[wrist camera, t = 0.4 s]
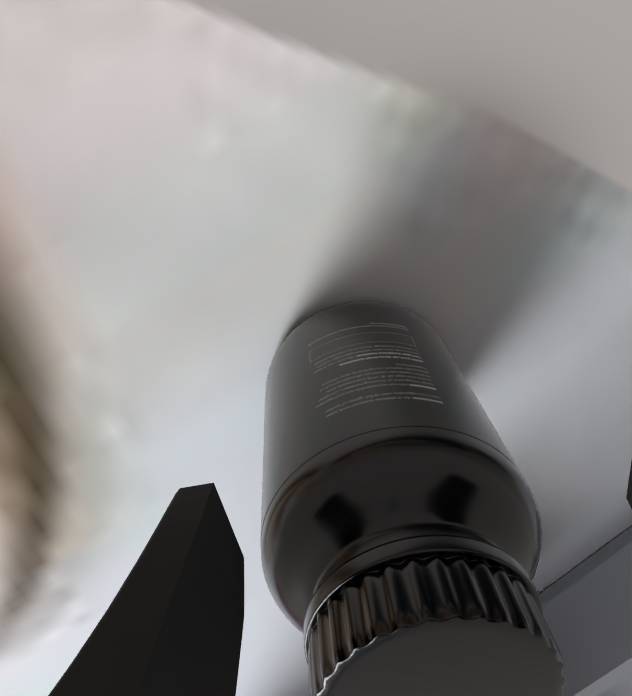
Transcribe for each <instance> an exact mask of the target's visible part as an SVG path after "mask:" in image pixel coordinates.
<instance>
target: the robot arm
mask: <svg viewBox="0 0 632 696" xmlns="http://www.w3.org/2000/svg"><path fill="white" fill-rule="evenodd" d="M626 498H627V500H628V502H629V504H630V506H631V509H632V462H631V469H630V476H629V483H628V490H627V496H626ZM243 621H244V557H243V554H242V552H241V549H240V547H239V544H238V542H237V539H236V537H235V534H234V532H233V529H232V527H231V524H230V522H229V520H228V517H227V515H226V512H225V510H224V507H223V505H222V502H221V500H220V497H219V495H218V492H217V490H216V487H215V485H214V483H209V484H203V485H197V486H191V487H185V488H180V489H179V490H178V492H177V493H176V494H175V496H174V498H173V499H172V501H171V503H170V505H169V506H168V508H167V510H166V512H165V514H164V515H163V517H162V519H161V521H160V522H159V524H158V526H157V528H156V529H155V531H154V533H153V535H152V536H151V538H150V540H149V542H148V543H147V545H146V547H145V549H144V550H143V552H142V554H141V555H140V557H139V559H138V561H137V562H136V564H135V566H134V567H133V569H132V570H131V572H130V574H129V575H128V577H127V579H126V580H125V582H124V584H123V585H122V587H121V588H120V590H119V592H118V593H117V595H116V597H115V598H114V600H113V601H112V603H111V605H110V606H109V608H108V609H107V611H106V613H105V614H104V616H103V617H102V619H101V620H100V622H99V623H98V625H97V626H96V628H95V629H94V631H93V632H92V634H91V635H90V637H89V638H88V640H87V641H86V643H85V644H84V645H83V647H82V648H81V650H80V651H79V653H78V654H77V656H76V657H75V659H74V660H73V662H72V663H71V665H70V666H69V668H68V669H67V670H66V672H65V673H64V675H63V676H62V677H61V679H60V680H59V682H58V683H57V684H56V686H55V687H54V689H53V690H52V691H51V693H50V694H49V695H48V696H235V694H236V686H237V677H238V668H239V659H240V650H241V640H242V631H243Z"/></svg>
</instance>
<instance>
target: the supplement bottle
mask: <svg viewBox="0 0 632 696" xmlns="http://www.w3.org/2000/svg"><path fill="white" fill-rule="evenodd" d="M541 535H542V534H541V520H540V516H539V511H538V507H537V504H536V501H535V499H534V496H533V494H532V492H531V490H530V488H529V486H528V484H527V482H526V481H525V479H524V477H523V475H522V474H521V472H520V470H519V468H518V467H517V465H516V463H515V462H514V460H513V458H512V457H511V455H510V453H509V451H508V450H507V448H506V446H505V445H504V443H503V441H502V440H501V438H500V436H499V435H498V433H497V431H496V430H495V428H494V426H493V424H492V423H491V421H490V419H489V418H488V416H487V414H486V413H485V411H484V409H483V408H482V406H481V404H480V402H479V401H478V399H477V397H476V396H475V394H474V392H473V391H472V389H471V387H470V386H469V384H468V382H467V380H466V379H465V377H464V375H463V374H462V372H461V370H460V369H459V367H458V365H457V364H456V362H455V360H454V358H453V357H452V355H451V353H450V352H449V350H448V348H447V347H446V345H445V344H444V342H443V341H442V339H441V338H440V337H439V335H438V334H437V333H436V332H435V331H434V330H433V329H432V327H430V326H429V325H428V324H427V323H426V322H425V321H423V320H422V319H421V318H419V317H418V316H416V315H414V314H413V313H411V312H409V311H406V310H404V309H402V308H399V307H396V306H393V305H389V304H385V303H378V302H352V303H345V304H341V305H337V306H334V307H331V308H328V309H325V310H323V311H321V312H319V313H317V314H315V315H313V316H311V317H309V318H308V319H306V320H305V321H304V322H302V323H301V324H300V325H299V326H297V327H296V328H295V329H294V330H293V331H292V332H291V333H290V334H289V335H288V336H287V337H286V339H285V340H284V341H283V342H282V344H281V345H280V347H279V348H278V350H277V352H276V354H275V356H274V358H273V360H272V363H271V365H270V368H269V372H268V377H267V383H266V396H265V420H264V451H263V483H262V515H261V559H262V568H263V572H264V576H265V580H266V583H267V585H268V588H269V590H270V593H271V595H272V596H273V598H274V600H275V602H276V604H277V605H278V607H279V608H280V609H281V611H282V612H283V614H284V615H285V616H286V617H287V619H288V620H289V621H290V622H291V623H292V624H293V625H294V626H295V627H296V628H297V629H298V630H299V631H301V632H302V633H303V634H304V647H305V655H306V659H307V663H308V666H309V685H310V696H564V693H563V687H564V685H565V683H566V681H567V680H566V675H565V672H564V661H563V658H562V655H561V652H560V650H559V648H558V646H557V644H556V642H555V640H554V638H553V635H552V633H551V631H550V629H549V627H548V625H547V623H546V621H545V619H544V617H543V608H542V603H541V600H540V597H539V595H538V592H537V590H536V588H535V587H534V585H533V583H532V579H533V577H534V574H535V571H536V568H537V565H538V561H539V555H540V550H541Z"/></svg>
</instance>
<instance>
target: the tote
mask: <svg viewBox="0 0 632 696" xmlns="http://www.w3.org/2000/svg"><path fill="white" fill-rule="evenodd" d="M539 597H540V600H541V603H542V608H543V617H544V619H545V621H546V623H547V625H548V627H549V629H550V631H551V633H552V635H553V638H554V640H555V642H556V644H557V646H558V648H559V650H560V652H561V655H562V658H563V661H564V672H565V675H566V680H567V681H566V683H565V685H564V687H563V693H564V696H632V526H631V527H630V528H628V529H627V530H625V531H624V532H623V533H621V534H620V535H619V536H617V537H616V538H615V539H613V540H612V541H611V542H609V543H608V544H606V545H605V546H604V547H602V548H601V549H600V550H598V551H597V552H596V553H594V554H593V555H592V556H590V557H589V558H587V559H586V560H585V561H583V562H582V563H581V564H579V565H578V566H577V567H575V568H574V569H573V570H571V571H570V572H568V573H567V574H566V575H564V576H563V577H562V578H560V579H559V580H558V581H556V582H555V583H553V584H552V585H551V586H549V587H548V588H547V589H545V590H544V591H543V592H541V593H540V594H539Z"/></svg>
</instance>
